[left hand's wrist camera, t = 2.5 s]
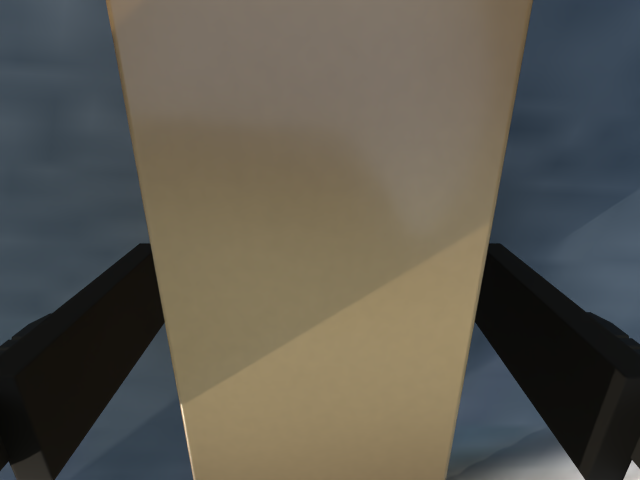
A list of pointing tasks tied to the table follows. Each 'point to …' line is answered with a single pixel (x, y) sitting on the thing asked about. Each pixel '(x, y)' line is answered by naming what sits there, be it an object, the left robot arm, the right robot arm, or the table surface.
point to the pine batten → (319, 219)
